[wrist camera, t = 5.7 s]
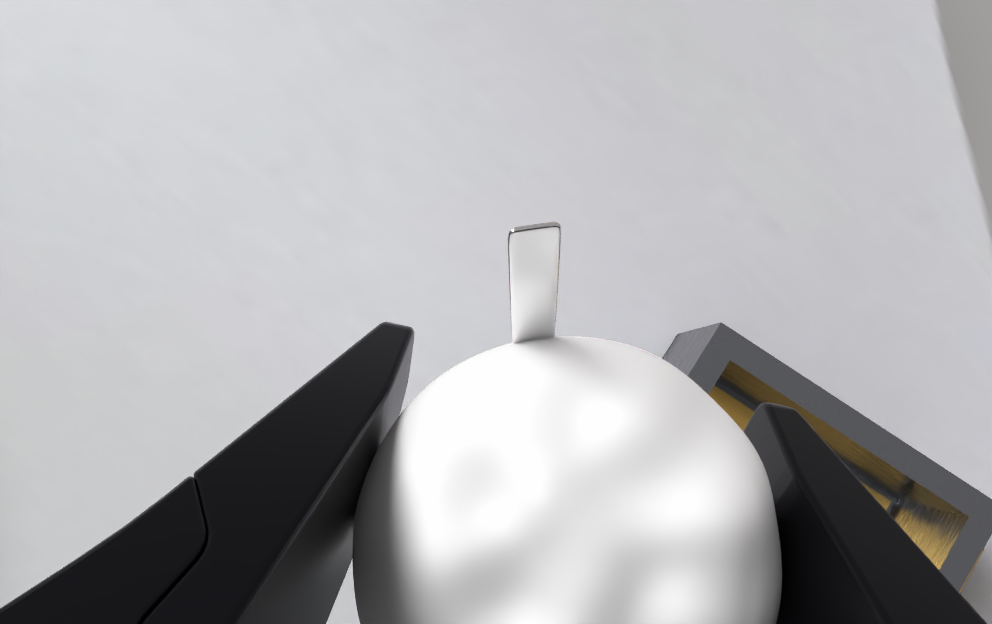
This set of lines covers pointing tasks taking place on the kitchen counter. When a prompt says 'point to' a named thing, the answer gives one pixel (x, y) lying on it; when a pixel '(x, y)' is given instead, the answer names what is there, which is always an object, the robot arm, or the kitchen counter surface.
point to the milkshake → (564, 487)
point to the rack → (846, 445)
